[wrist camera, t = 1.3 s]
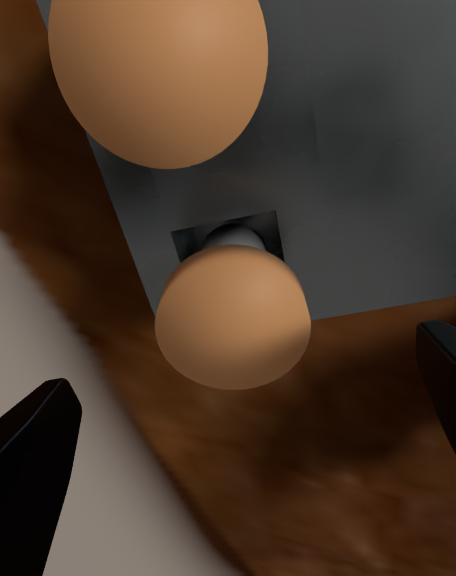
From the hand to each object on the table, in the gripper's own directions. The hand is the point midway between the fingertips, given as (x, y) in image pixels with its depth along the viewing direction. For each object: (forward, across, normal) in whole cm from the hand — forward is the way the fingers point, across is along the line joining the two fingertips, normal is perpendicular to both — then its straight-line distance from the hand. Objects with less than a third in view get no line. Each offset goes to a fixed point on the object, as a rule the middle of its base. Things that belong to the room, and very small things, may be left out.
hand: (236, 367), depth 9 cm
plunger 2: (+5, 0, 0) cm, 5 cm away
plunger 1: (+5, 0, -6) cm, 8 cm away
